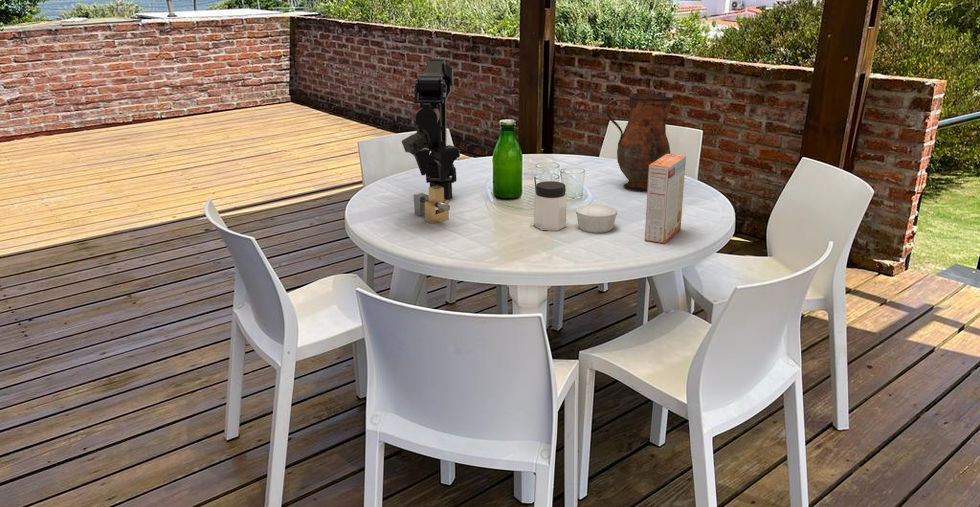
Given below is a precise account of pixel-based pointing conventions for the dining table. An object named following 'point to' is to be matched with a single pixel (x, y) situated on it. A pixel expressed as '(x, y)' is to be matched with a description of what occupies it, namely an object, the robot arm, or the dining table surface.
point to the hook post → (420, 204)
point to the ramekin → (596, 218)
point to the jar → (550, 206)
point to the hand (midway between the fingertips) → (432, 178)
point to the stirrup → (430, 213)
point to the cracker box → (664, 198)
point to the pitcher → (642, 137)
